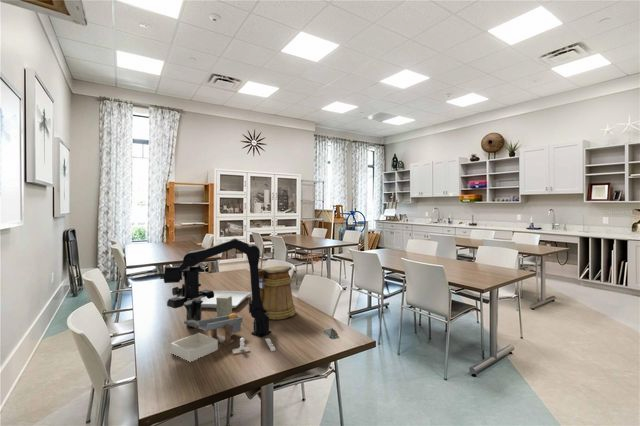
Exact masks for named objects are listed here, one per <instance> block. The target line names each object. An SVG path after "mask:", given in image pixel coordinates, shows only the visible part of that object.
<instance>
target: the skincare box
mask: <svg viewBox="0 0 640 426" xmlns="http://www.w3.org/2000/svg"><path fill="white" fill-rule="evenodd" d="M216 301H217V308H216V317H221V316H227V315H230V314H232V313H233V308H232V296H219V297H217V298H216Z"/></svg>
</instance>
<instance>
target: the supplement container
mask: <svg viewBox="0 0 640 426" xmlns="http://www.w3.org/2000/svg"><path fill="white" fill-rule="evenodd" d="M202 309H203V308H202V303H201V305H200V306H199V308H198V310H197V312H196V314H195V316H194V318H193V319H191V318H190V316H189V314H188V311H187V309H186V308H185V310H186V311H185V312H186V315H185V317H186V319H185V321H188V320H195V321H200V320H203V319H202V318H203V317H202V312H203V311H202ZM185 326H186V328H188V329H196V328H195V327H192V326H189V325H187V324H185Z"/></svg>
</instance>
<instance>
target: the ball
mask: <svg viewBox="0 0 640 426" xmlns="http://www.w3.org/2000/svg"><path fill="white" fill-rule="evenodd" d="M237 316H238V314H236V313H234V312H232V314H230V316H229V319H234V318H237Z"/></svg>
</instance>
